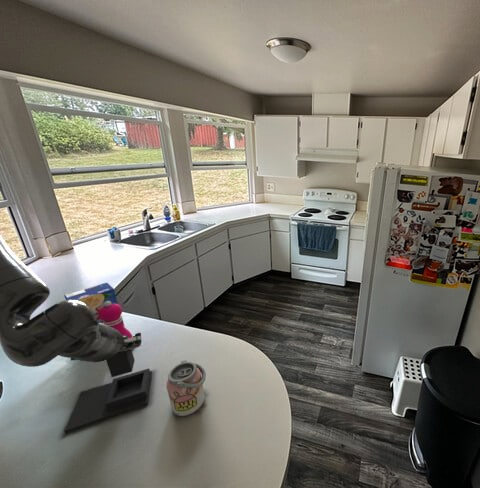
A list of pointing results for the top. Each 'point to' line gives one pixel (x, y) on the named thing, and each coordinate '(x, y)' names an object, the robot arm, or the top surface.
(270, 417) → the top surface
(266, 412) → the top surface
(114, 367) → the black tall rectangular block
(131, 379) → the base pad
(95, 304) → the beverage box
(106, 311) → the pepper mill
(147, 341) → the top surface
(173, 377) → the beverage can
